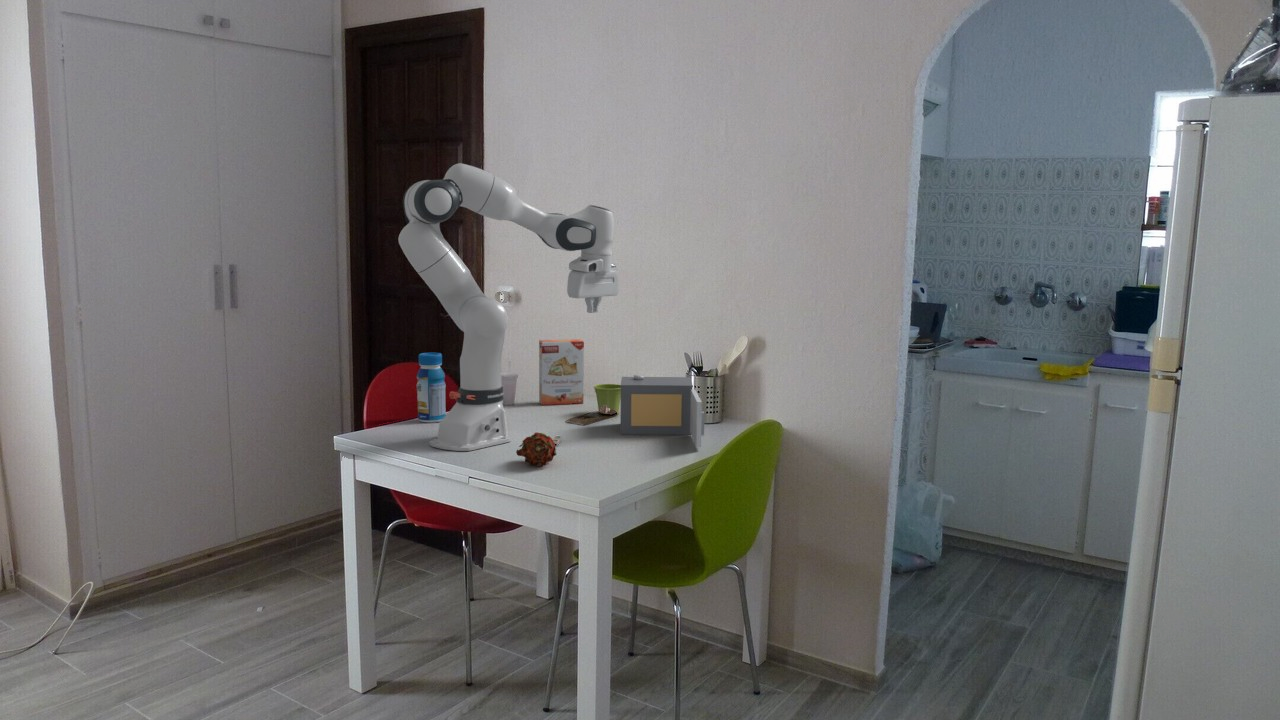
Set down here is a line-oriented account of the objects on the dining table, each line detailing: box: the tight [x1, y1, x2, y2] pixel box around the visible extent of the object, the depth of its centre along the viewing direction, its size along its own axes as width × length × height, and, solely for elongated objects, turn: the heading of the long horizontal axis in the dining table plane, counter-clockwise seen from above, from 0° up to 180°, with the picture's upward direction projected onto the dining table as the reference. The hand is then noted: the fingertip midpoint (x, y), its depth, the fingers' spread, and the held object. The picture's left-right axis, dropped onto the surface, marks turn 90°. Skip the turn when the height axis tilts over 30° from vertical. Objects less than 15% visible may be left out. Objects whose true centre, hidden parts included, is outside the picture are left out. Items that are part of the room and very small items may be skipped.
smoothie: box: [501, 360, 519, 406], centre depth 300 cm, size 6×6×14 cm
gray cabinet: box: [620, 374, 694, 436], centre depth 264 cm, size 14×20×15 cm
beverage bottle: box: [415, 352, 447, 424], centre depth 274 cm, size 8×8×20 cm
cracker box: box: [538, 338, 585, 406], centre depth 301 cm, size 14×6×21 cm, turn 105°
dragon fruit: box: [515, 432, 557, 467], centre depth 226 cm, size 8×8×12 cm
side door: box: [690, 389, 705, 448], centre depth 248 cm, size 2×18×12 cm, turn 2°
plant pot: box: [592, 383, 621, 415], centre depth 286 cm, size 9×9×9 cm
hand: (592, 312), depth 264 cm, fingers closed
